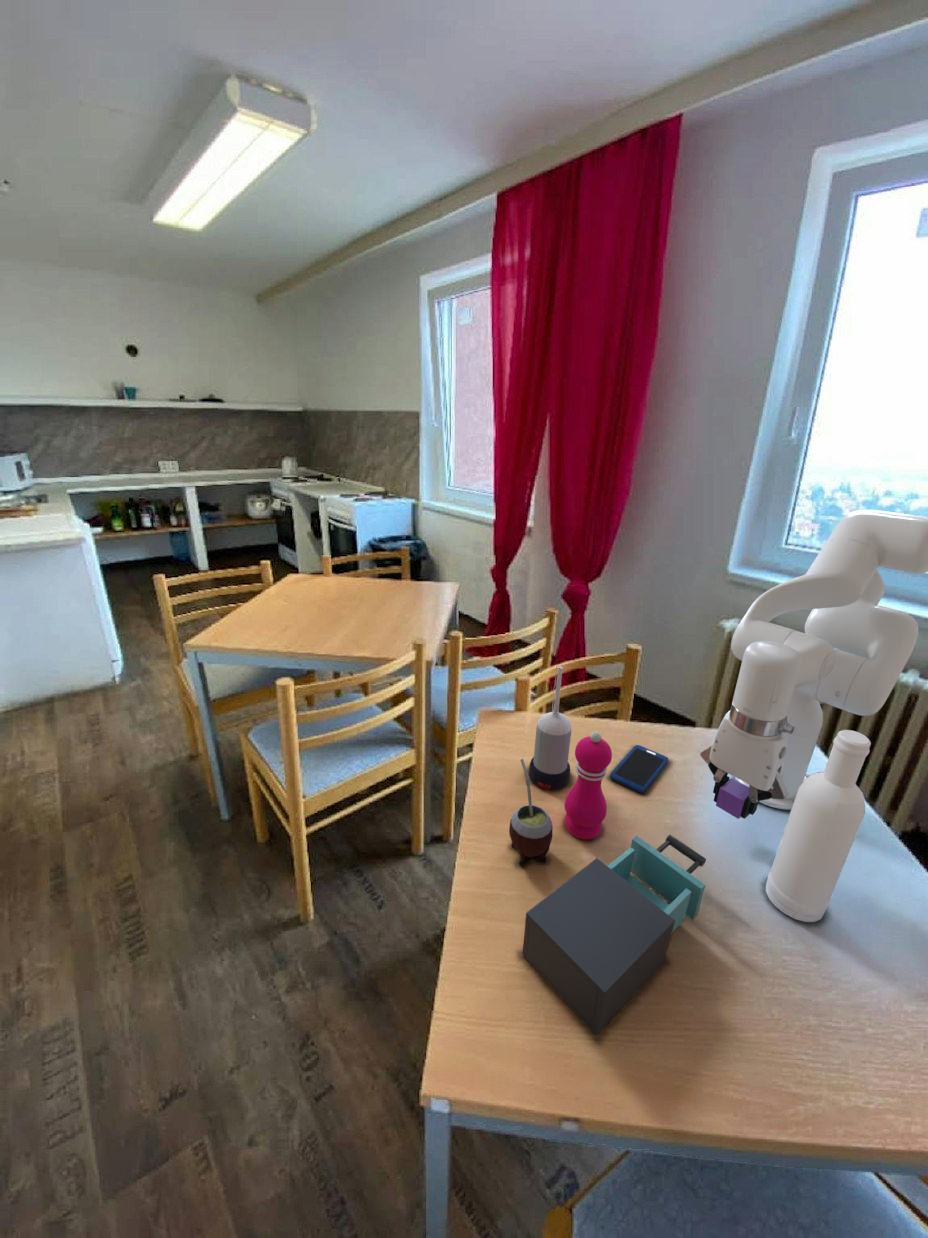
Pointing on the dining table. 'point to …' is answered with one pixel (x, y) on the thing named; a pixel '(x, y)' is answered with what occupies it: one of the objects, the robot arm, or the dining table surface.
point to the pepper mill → (588, 788)
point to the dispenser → (596, 942)
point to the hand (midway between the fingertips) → (732, 805)
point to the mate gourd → (530, 829)
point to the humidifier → (552, 747)
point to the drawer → (663, 877)
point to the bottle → (820, 832)
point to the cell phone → (639, 768)
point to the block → (732, 797)
